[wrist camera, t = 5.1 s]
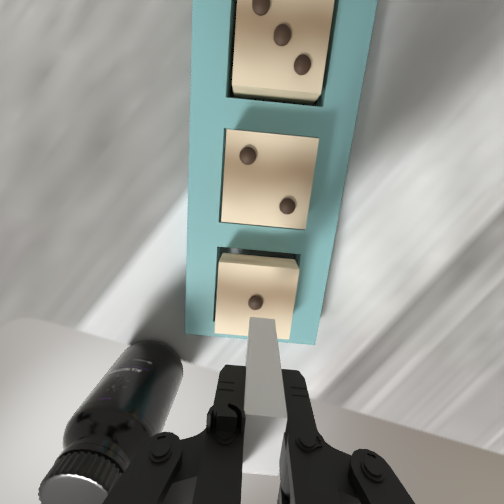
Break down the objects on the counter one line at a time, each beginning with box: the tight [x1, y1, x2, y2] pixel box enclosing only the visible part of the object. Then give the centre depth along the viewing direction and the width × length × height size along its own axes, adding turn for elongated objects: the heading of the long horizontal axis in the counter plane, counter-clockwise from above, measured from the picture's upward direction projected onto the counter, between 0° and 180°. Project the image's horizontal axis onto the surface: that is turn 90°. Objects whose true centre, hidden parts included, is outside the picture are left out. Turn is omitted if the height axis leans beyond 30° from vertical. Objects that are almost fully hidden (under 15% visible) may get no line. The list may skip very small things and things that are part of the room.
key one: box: [215, 253, 299, 340], centre depth 21 cm, size 6×6×3 cm
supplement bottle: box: [38, 341, 183, 504], centre depth 21 cm, size 7×7×12 cm
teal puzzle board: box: [185, 0, 378, 345], centre depth 21 cm, size 28×12×2 cm, turn 175°
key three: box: [232, 0, 335, 105], centre depth 17 cm, size 6×6×3 cm
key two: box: [221, 129, 319, 229], centre depth 18 cm, size 6×6×3 cm
